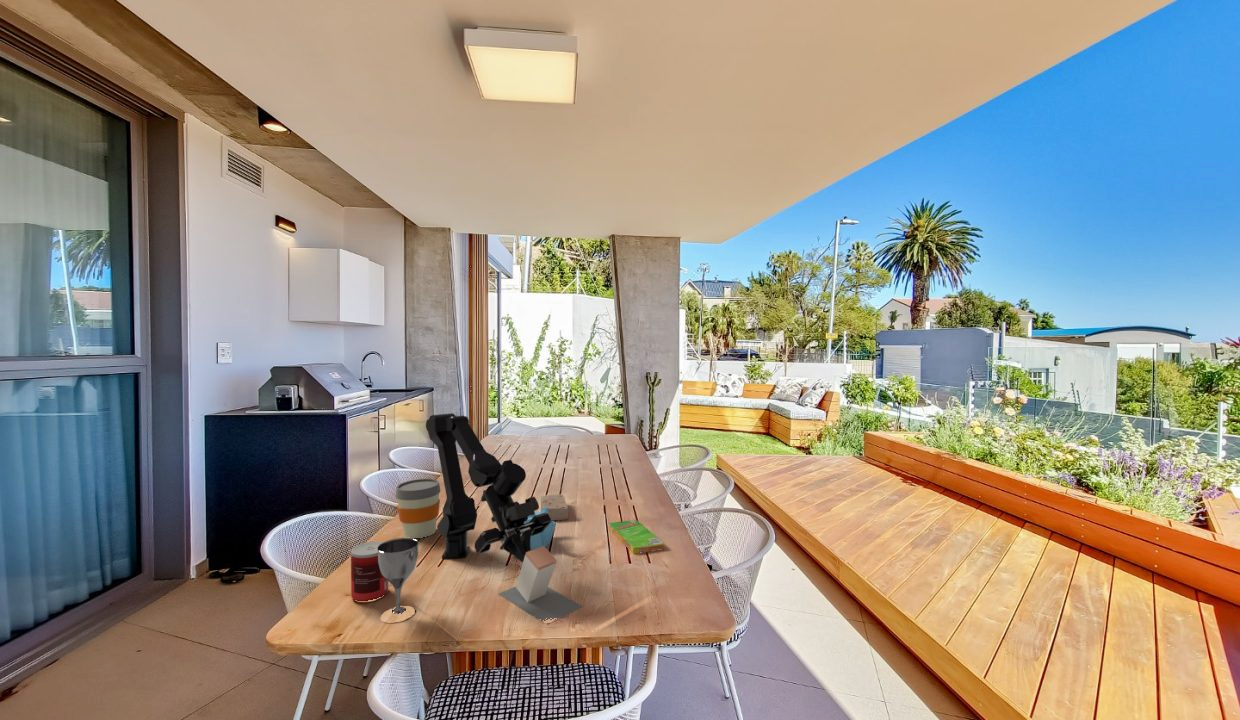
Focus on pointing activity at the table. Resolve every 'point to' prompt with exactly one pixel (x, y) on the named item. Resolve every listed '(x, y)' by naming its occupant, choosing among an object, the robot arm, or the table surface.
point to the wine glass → (397, 563)
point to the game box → (635, 536)
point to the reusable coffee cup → (418, 506)
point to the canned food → (366, 573)
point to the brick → (555, 506)
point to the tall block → (535, 573)
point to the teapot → (546, 535)
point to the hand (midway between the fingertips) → (529, 564)
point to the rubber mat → (542, 604)
